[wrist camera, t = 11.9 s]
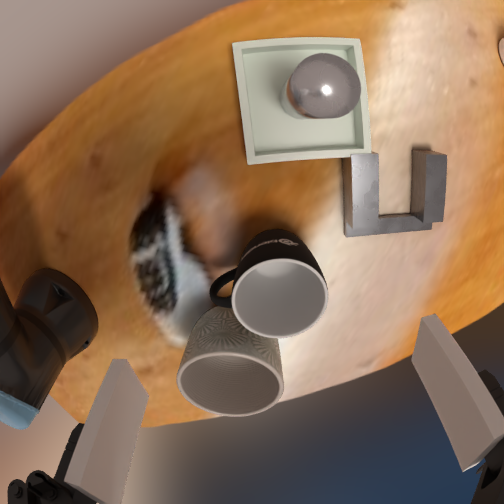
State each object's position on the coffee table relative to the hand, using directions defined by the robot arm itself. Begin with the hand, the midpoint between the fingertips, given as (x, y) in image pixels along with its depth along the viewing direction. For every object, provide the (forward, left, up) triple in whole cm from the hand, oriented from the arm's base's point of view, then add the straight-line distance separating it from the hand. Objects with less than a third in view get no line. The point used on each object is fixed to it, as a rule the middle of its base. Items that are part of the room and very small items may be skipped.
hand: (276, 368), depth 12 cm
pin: (+5, +12, -23) cm, 26 cm away
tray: (+5, +12, -24) cm, 27 cm away
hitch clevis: (+15, +2, -24) cm, 28 cm away
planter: (-6, -17, -24) cm, 30 cm away
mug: (-1, -6, -24) cm, 25 cm away
